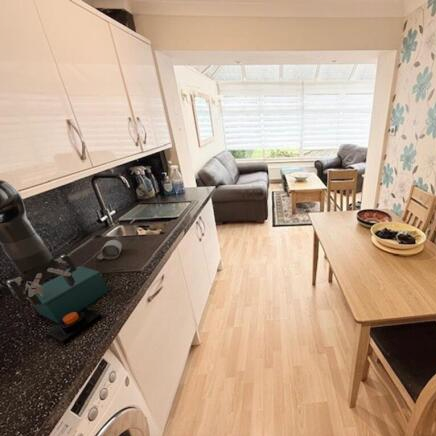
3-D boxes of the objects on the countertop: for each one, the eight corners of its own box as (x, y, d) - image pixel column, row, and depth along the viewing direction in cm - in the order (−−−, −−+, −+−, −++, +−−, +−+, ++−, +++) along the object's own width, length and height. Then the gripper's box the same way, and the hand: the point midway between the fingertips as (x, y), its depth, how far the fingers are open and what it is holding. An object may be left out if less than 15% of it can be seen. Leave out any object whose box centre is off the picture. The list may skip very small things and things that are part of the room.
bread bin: (59, 324, 82) (46, 304, 78) (40, 314, 86) (26, 295, 83) (109, 291, 96) (100, 273, 92) (89, 284, 100) (80, 267, 96)
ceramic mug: (124, 248, 125) (118, 236, 122) (122, 256, 118) (116, 243, 115) (100, 255, 121) (93, 242, 118) (97, 263, 114) (90, 250, 111)
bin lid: (42, 306, 77) (34, 293, 75) (22, 296, 82) (14, 285, 80) (100, 273, 92) (94, 262, 89) (80, 267, 96) (74, 256, 94)
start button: (69, 325, 77) (66, 322, 76) (62, 322, 78) (60, 319, 77) (81, 317, 80) (79, 313, 79) (75, 314, 81) (72, 310, 80)
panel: (65, 344, 74) (59, 337, 72) (49, 336, 77) (43, 328, 76) (101, 317, 83) (97, 310, 82) (86, 311, 86) (81, 304, 85)
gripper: (50, 236, 74) (74, 277, 81) (-15, 262, 63) (20, 308, 70) (64, 239, 72) (88, 282, 79) (-2, 268, 60) (33, 314, 67)
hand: (56, 294), depth 74 cm, fingers open, 8 cm apart
